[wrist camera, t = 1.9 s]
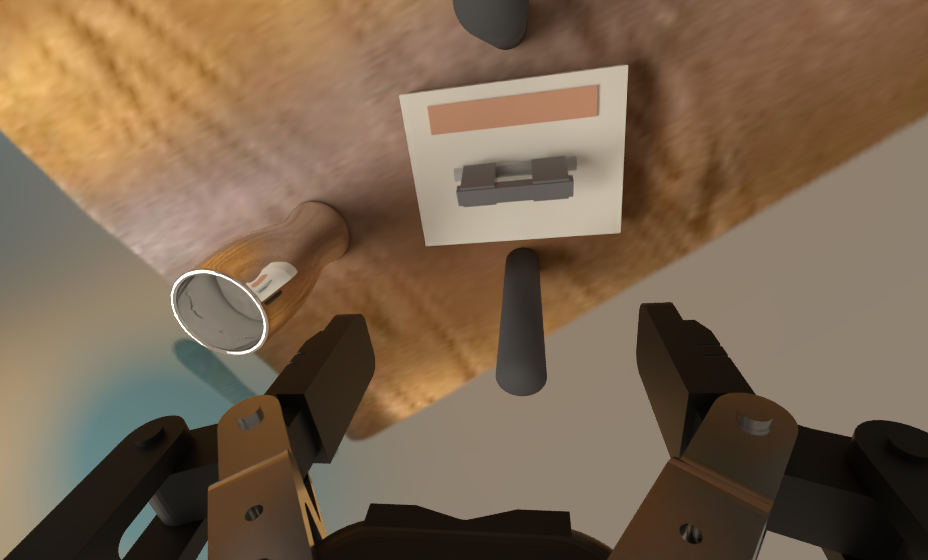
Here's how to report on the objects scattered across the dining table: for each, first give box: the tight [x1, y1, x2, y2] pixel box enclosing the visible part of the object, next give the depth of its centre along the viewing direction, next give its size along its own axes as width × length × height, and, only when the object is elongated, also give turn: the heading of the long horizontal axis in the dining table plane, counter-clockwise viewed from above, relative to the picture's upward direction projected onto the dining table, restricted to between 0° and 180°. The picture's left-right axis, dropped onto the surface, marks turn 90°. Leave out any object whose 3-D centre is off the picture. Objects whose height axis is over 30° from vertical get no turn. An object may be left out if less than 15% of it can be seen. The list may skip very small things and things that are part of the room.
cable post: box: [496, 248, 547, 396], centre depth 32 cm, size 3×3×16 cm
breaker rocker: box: [454, 156, 577, 207], centre depth 30 cm, size 2×9×4 cm, turn 98°
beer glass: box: [170, 202, 350, 356], centre depth 33 cm, size 7×7×15 cm
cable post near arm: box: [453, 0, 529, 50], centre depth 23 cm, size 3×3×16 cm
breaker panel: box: [399, 65, 628, 246], centre depth 33 cm, size 12×16×3 cm
